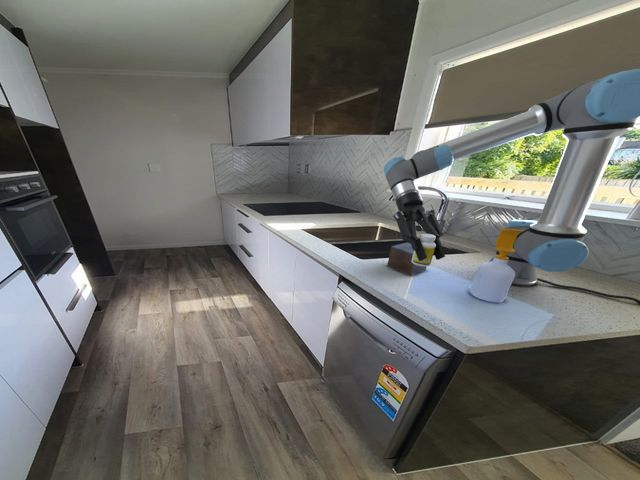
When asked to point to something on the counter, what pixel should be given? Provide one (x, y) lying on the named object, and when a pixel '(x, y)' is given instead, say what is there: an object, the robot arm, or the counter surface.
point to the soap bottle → (496, 270)
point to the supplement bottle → (428, 248)
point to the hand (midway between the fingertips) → (431, 258)
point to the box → (403, 262)
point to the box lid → (404, 248)
